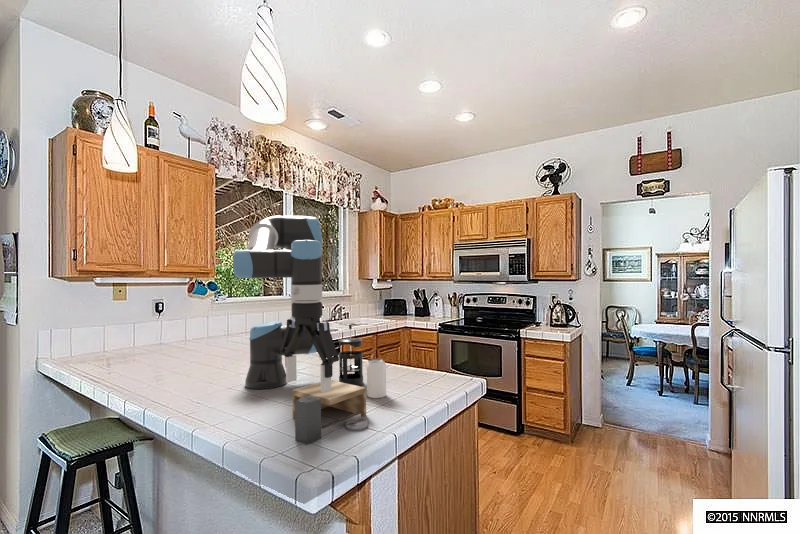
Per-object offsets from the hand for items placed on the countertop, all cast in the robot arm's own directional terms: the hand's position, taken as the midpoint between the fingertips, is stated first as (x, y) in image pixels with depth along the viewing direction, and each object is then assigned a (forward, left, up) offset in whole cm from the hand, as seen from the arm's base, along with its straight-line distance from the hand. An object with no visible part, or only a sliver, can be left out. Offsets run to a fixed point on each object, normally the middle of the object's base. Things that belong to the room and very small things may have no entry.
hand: (308, 385), depth 102 cm
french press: (-27, +42, -14) cm, 52 cm away
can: (-10, +37, -14) cm, 41 cm away
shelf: (-8, +14, -13) cm, 21 cm away
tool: (0, +8, -13) cm, 15 cm away
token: (+4, +13, -14) cm, 19 cm away
